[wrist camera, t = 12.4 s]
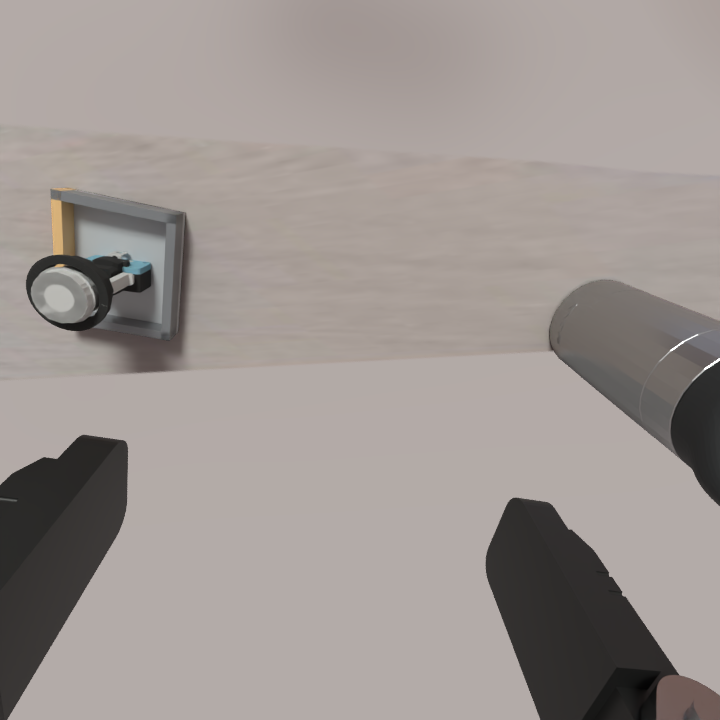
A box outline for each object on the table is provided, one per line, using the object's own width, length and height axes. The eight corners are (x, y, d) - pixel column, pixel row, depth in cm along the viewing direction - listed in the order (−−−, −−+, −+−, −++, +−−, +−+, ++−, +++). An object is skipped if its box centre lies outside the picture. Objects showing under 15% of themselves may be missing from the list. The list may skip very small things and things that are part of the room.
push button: (78, 291, 39) (0, 327, 30) (73, 229, 37) (-12, 248, 28) (156, 301, 40) (103, 340, 31) (155, 242, 38) (98, 264, 29)
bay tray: (185, 212, 38) (176, 215, 36) (178, 331, 42) (169, 340, 40) (67, 187, 37) (50, 188, 34) (71, 313, 41) (56, 321, 38)
